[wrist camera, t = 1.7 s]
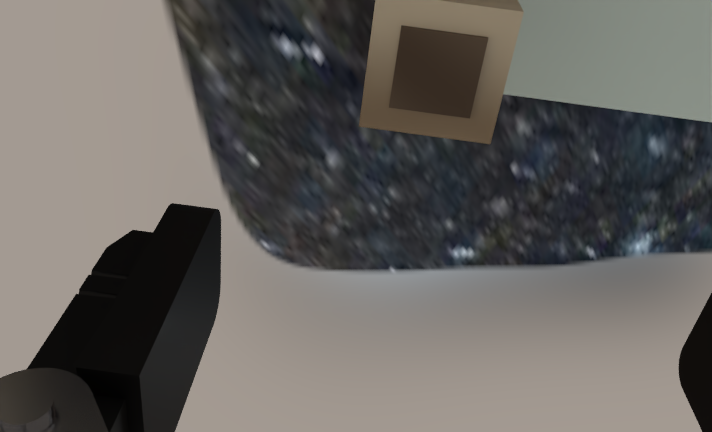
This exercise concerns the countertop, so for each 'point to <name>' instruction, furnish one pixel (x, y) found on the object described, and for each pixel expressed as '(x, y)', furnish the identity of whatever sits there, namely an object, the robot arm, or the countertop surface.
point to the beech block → (439, 66)
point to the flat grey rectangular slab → (617, 55)
